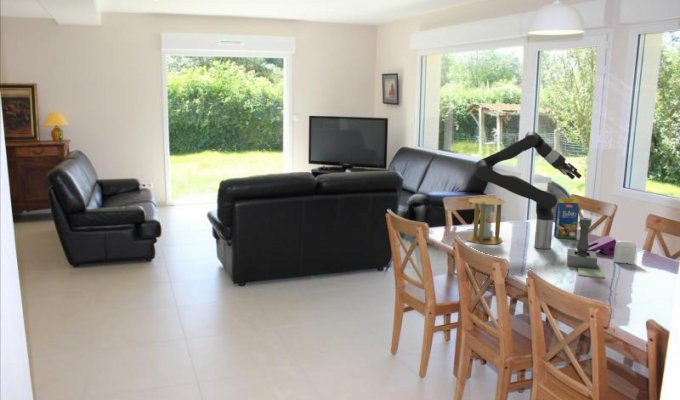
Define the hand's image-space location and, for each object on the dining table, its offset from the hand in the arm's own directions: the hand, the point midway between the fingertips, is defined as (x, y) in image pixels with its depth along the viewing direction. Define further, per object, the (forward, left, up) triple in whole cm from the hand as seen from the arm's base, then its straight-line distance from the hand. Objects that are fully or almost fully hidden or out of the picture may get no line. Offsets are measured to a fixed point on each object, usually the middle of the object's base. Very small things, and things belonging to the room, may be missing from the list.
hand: (577, 177), depth 319 cm
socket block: (+5, -15, -44) cm, 47 cm away
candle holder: (+5, -15, -45) cm, 47 cm away
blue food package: (-2, +45, -45) cm, 64 cm away
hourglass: (-49, +18, -45) cm, 69 cm away
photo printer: (+27, -2, -45) cm, 52 cm away
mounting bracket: (+15, +14, -45) cm, 50 cm away
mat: (+9, -30, -44) cm, 54 cm away
